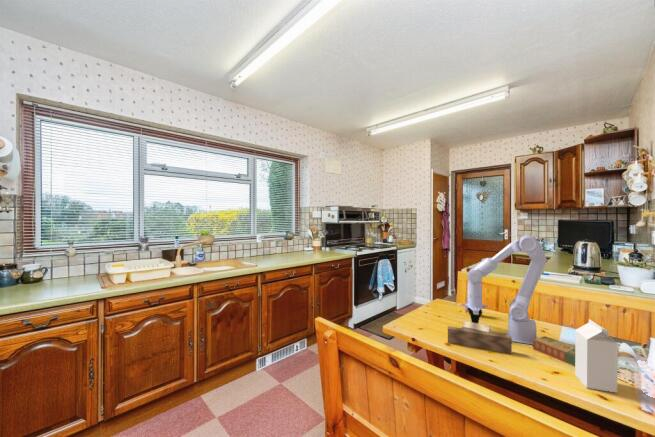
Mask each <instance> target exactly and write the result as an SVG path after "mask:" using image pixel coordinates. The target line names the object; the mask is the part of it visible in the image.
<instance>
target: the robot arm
mask: <svg viewBox="0 0 655 437" xmlns="http://www.w3.org/2000/svg"><path fill="white" fill-rule="evenodd" d="M522 251H524V253H525V254H527V256H528V257H529V258H530V262H529V264H528V267H527V270H526V272H525V274H524V276H523V279H522V282H521V284H520V286H519V289H518V292H517V294H516V295H515V297H514V299H513V300H511V301H510V302H509V311H508V312H509V314H508V315H507V316H508V317H507V322H508V323H507V326H508V327H507V329H508V330H507V332H505V335H509V336H511V338H512V342H514V343H520V344H526V345H532V346H533V340H535V339H538V338H537V334H538V333H537V324H536V321H535V320H534V319H531V318H530V317H529V311H528V309H529V306H530V303H531V300H532V297H533V294H534V292H535V289H536V287H537V284H538V282H539V280H540V277H541V275H542V273H543V270H544V268H545V265H546V263H547V257H546V254H545V252H544V248H543V246H542V244H541V243H540V242H539V240H538V238H536V237H535V236H533V235H531V234H523V235H521V236H520V237H519V238H517V239H515V240H513V241H512V242H510V243H508V244H507V245H506V246H505V247H504V248H502V249H501V250H500V251H498V253H496V254H495V255H494V256H492V257H486V258H482V259H481V262H479V263H478V264H476V265H473V266H472V268H471V269H469V271H468V272H467V274H466V279H467V297H468V304H467V302H466V303H464V304H465V306H468V307H469V308H468V313H469V316H470V320H471V321H470V322H473V323H478V324H480V323H479V321H480V318H481V317H482V315H483V309H482V308H483V306H482V305H483V286H482V280H483V278H484V277H487V276H488V275H490V274H491V273H493V271H495V270H496V269H498V264H499V263H501V262H502V261H503V260H505V259H506V258H508V257H510V256H511V255H512V254H514V253H516V254H517V253H522Z"/></svg>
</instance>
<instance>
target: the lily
mask: <svg viewBox="0 0 655 437" xmlns="http://www.w3.org/2000/svg"><path fill="white" fill-rule="evenodd" d="M465 301H466V303H467V304H468V296H467V297H466V298H465ZM460 306H462V307H464V308H465V309H464V311H465V312H466V313H467V312H468V308H469V307H468V306H465V303H461V304H460ZM482 306H483V308H482V310H483V309H489V306H488V305H486V304H482ZM468 313H469V312H468Z"/></svg>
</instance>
